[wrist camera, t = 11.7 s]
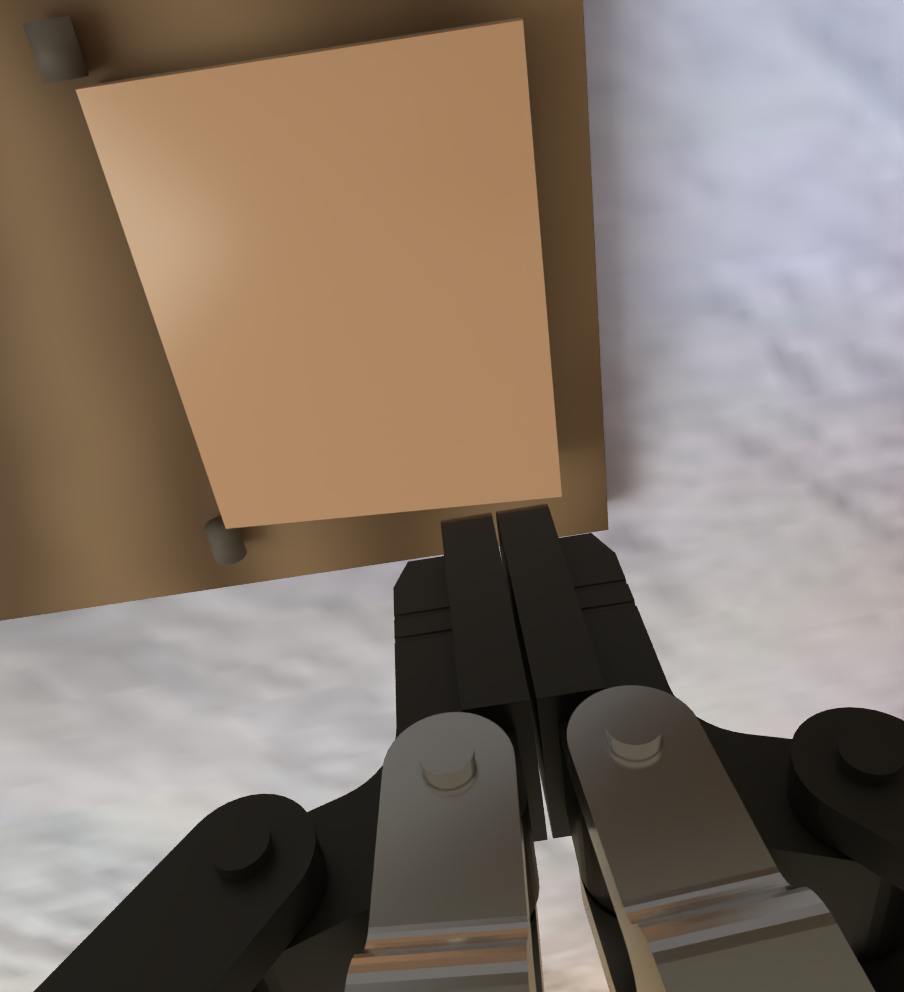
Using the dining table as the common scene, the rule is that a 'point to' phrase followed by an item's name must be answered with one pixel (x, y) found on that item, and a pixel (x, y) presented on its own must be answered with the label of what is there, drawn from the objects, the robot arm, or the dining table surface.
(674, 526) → the dining table surface
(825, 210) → the dining table surface
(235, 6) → the board
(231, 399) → the tile
